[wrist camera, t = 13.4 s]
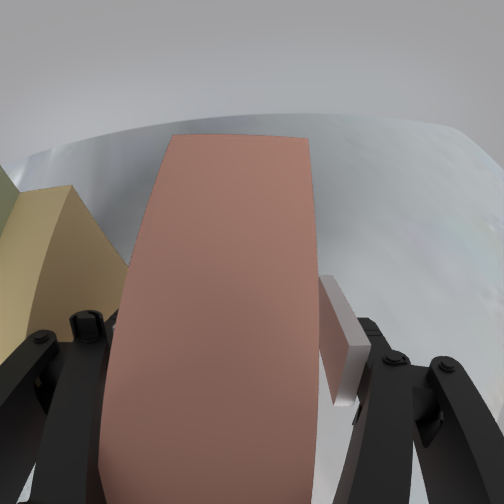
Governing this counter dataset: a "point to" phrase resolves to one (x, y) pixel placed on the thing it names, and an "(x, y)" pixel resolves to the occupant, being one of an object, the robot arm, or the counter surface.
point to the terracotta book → (218, 331)
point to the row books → (52, 264)
